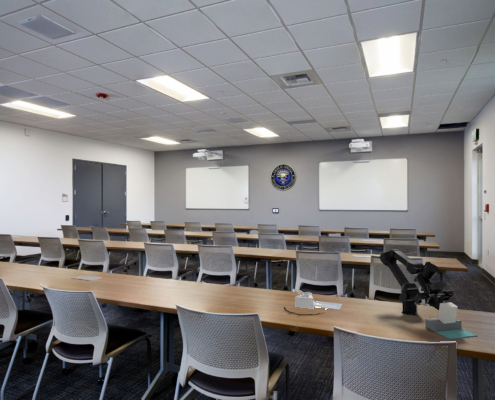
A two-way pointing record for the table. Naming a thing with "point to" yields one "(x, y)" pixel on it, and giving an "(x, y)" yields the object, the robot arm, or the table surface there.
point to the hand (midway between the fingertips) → (443, 312)
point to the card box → (447, 312)
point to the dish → (306, 301)
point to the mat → (456, 334)
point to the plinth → (442, 325)
